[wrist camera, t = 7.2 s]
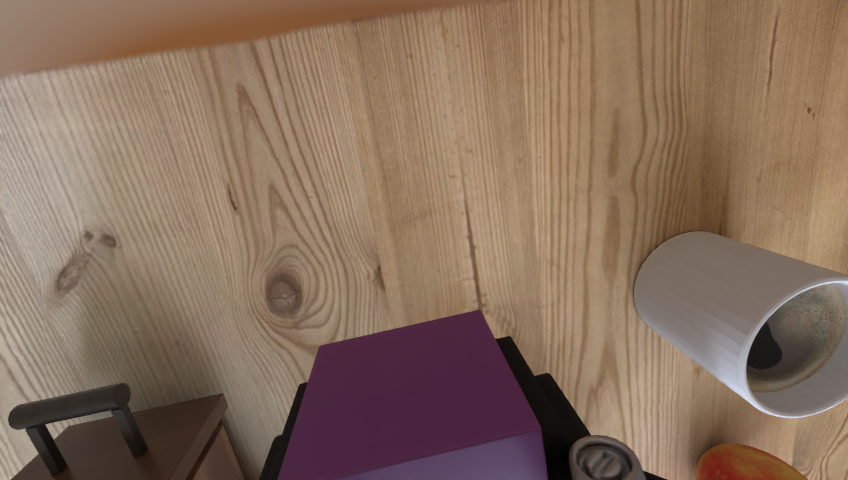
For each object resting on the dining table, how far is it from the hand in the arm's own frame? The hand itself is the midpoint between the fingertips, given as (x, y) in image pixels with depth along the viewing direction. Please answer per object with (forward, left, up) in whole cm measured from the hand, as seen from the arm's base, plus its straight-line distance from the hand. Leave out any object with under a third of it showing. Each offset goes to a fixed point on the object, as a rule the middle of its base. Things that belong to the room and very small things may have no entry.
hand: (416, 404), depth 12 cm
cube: (0, 0, 0) cm, 0 cm away
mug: (+17, +17, -18) cm, 30 cm away
